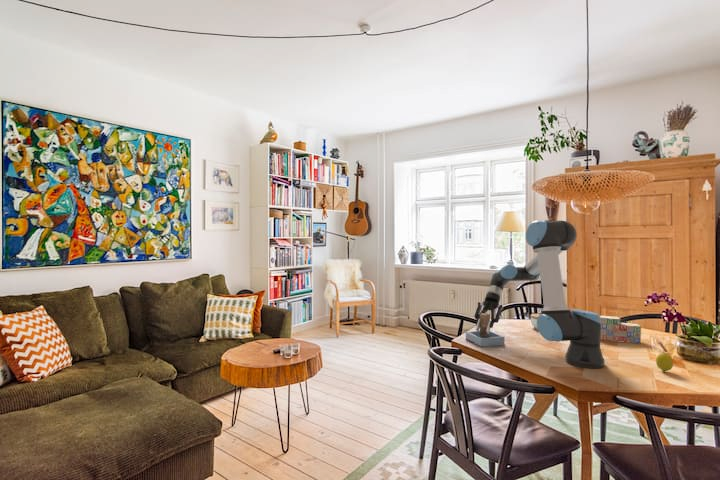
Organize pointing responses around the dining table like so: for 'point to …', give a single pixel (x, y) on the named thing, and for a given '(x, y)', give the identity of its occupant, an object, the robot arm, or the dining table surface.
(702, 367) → the dining table surface
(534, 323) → the lidded jar
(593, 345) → the robot arm
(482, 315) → the brown rectangular block
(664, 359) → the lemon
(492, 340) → the bin
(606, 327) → the stack of blocks
